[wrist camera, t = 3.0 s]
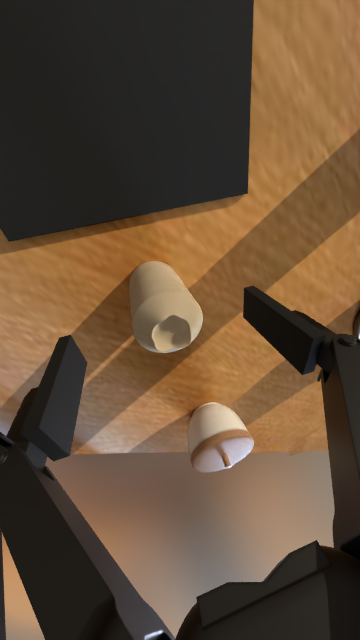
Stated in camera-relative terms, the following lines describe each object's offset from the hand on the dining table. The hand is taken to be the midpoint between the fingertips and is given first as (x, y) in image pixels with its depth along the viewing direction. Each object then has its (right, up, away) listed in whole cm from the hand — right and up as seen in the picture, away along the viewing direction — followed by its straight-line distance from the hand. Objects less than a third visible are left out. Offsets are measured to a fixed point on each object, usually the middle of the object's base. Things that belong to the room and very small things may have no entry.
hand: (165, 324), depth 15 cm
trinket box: (+6, -17, +23) cm, 30 cm away
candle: (-2, +4, +7) cm, 9 cm away
